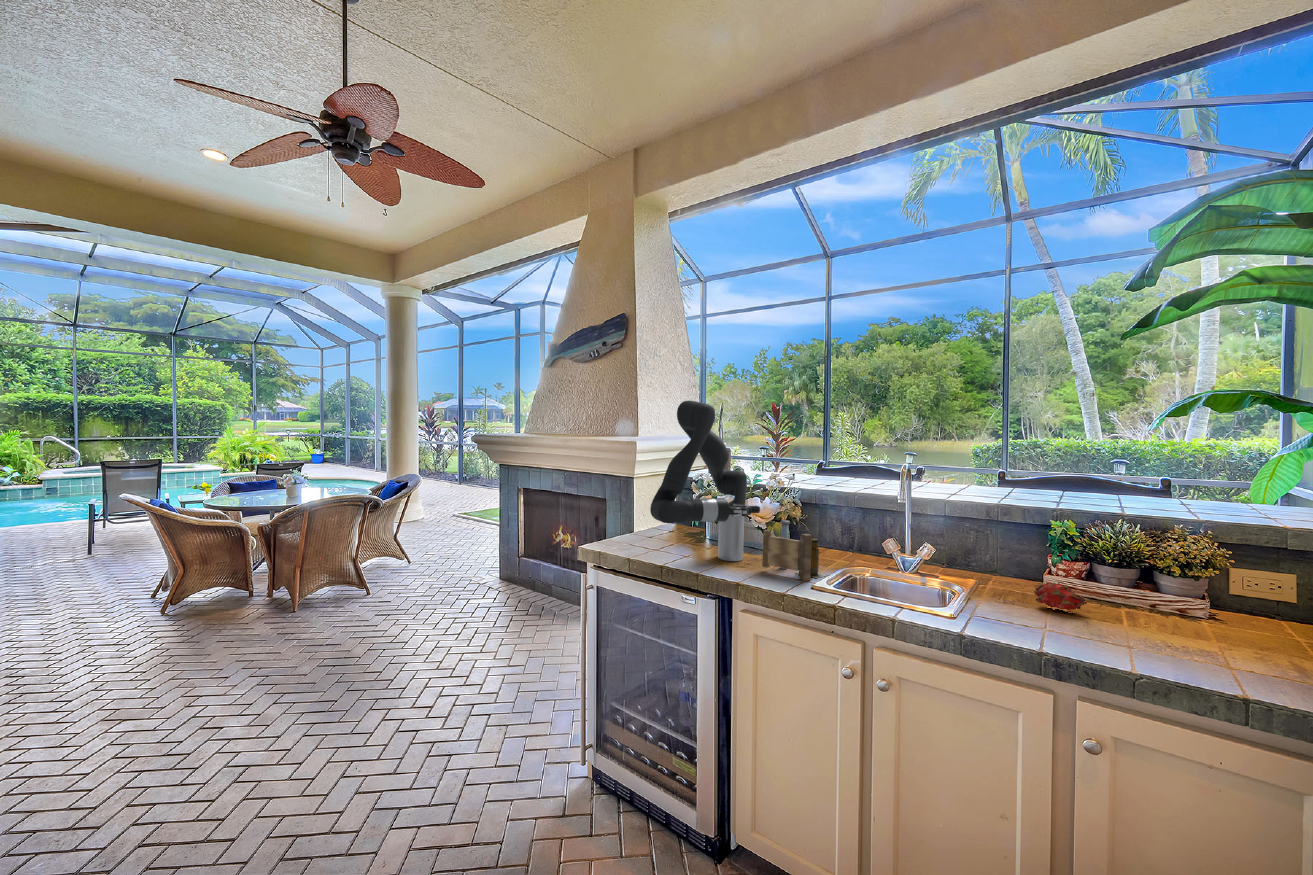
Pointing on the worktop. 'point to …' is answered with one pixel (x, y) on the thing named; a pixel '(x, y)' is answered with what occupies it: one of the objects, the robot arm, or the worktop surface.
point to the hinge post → (805, 557)
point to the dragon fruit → (1058, 596)
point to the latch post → (784, 530)
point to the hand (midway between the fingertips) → (758, 509)
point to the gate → (781, 552)
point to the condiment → (815, 560)
